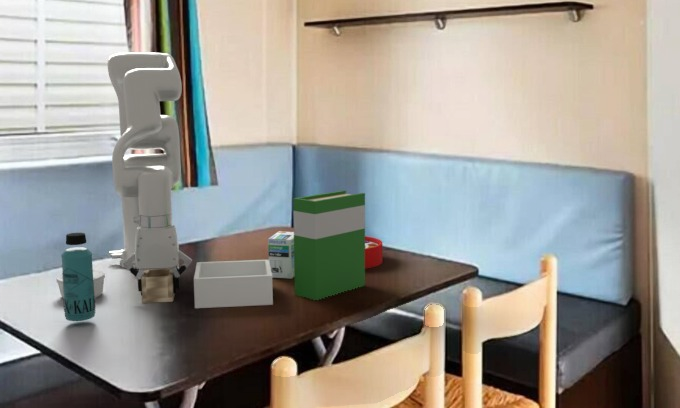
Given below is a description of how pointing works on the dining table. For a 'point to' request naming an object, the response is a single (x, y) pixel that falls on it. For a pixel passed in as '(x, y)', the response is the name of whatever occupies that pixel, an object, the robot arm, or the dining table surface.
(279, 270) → the light bulb box
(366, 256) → the toy clock
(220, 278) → the grey plastic crate
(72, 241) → the beverage bottle
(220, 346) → the dining table surface
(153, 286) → the small wooden crate
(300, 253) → the hardback book
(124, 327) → the dining table surface
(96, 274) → the ramekin
